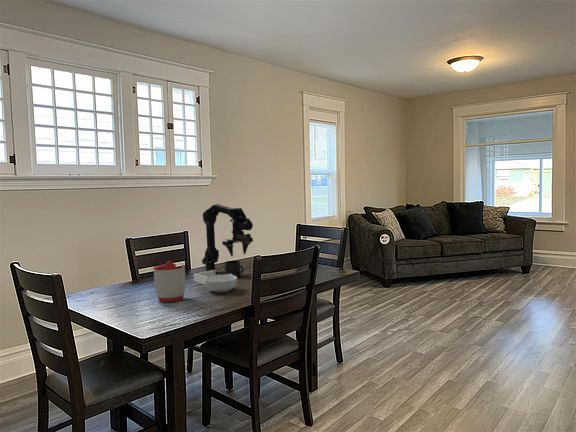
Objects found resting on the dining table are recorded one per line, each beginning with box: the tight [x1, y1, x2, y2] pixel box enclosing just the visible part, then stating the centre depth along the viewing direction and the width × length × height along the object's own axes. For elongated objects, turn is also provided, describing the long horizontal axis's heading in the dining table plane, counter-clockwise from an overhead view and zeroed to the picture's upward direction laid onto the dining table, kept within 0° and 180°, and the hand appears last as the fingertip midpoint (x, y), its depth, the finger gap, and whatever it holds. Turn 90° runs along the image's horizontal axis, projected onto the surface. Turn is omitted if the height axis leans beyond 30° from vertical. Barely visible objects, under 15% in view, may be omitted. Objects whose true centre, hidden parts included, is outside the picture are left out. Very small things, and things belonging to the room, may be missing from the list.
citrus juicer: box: [152, 260, 186, 303], centre depth 228 cm, size 16×17×20 cm
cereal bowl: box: [205, 273, 238, 294], centre depth 242 cm, size 17×17×7 cm
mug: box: [224, 260, 244, 279], centre depth 275 cm, size 9×12×9 cm
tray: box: [193, 269, 232, 286], centre depth 264 cm, size 18×14×4 cm
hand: (238, 255), depth 270 cm, fingers open, 9 cm apart
